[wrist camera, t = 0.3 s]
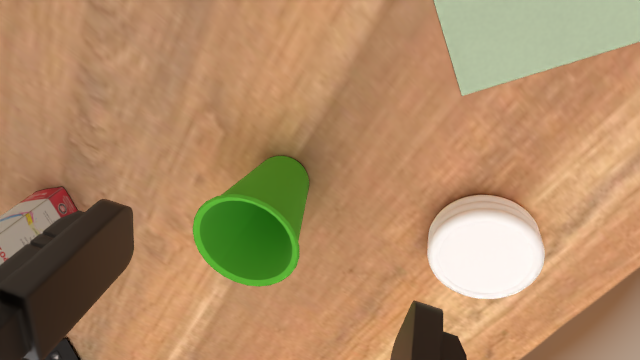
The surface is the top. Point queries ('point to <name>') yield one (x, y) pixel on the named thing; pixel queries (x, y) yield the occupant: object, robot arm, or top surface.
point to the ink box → (32, 219)
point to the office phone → (61, 352)
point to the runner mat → (530, 35)
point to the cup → (255, 224)
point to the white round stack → (485, 247)
